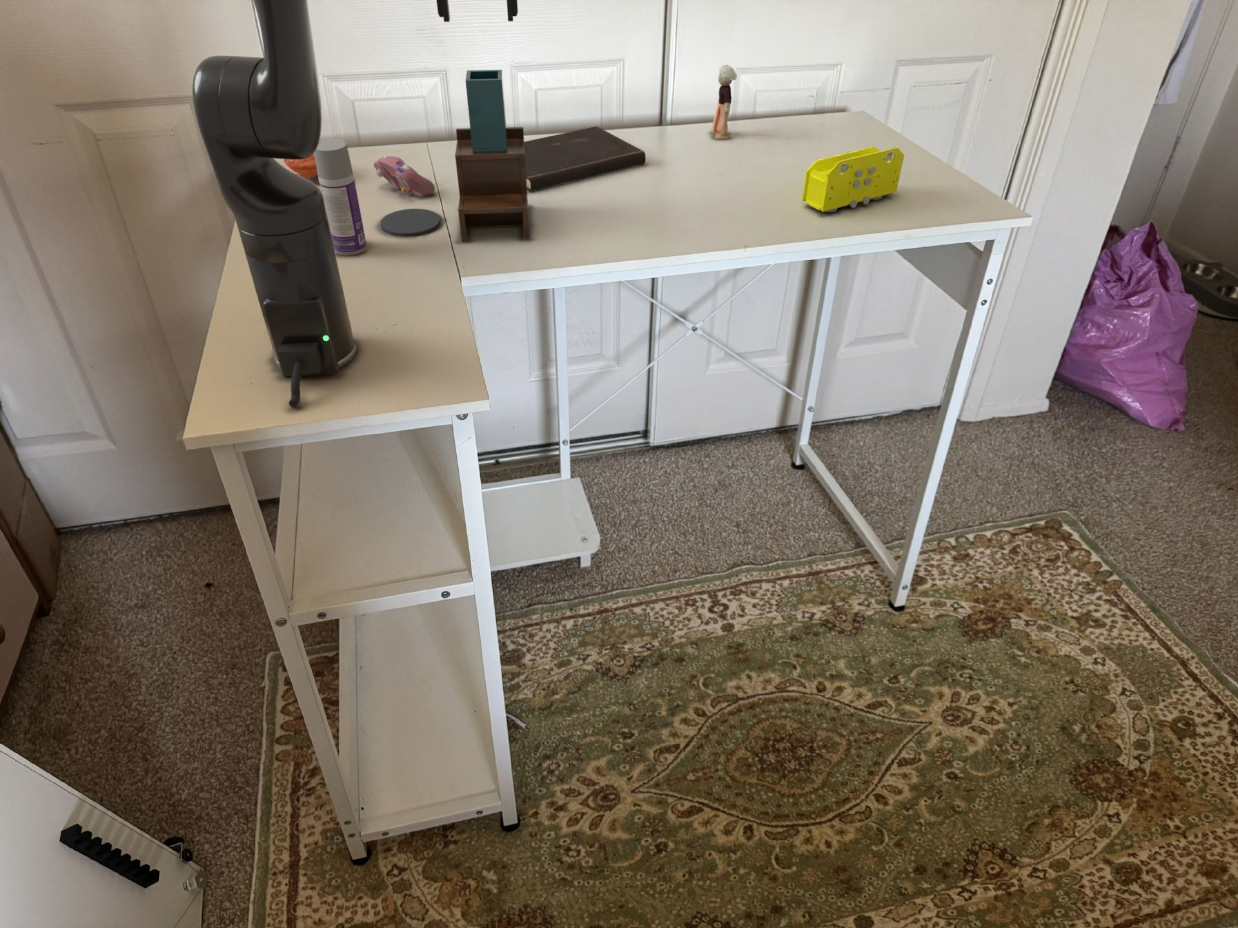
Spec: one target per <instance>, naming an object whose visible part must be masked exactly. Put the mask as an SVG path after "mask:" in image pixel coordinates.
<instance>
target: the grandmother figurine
mask: <svg viewBox="0 0 1238 928" xmlns="http://www.w3.org/2000/svg"><path fill="white" fill-rule="evenodd" d="M718 74H719V75H718V77H717V80H718V83H719V85H720V86H719V89H718V101H717V106H716V110H715V113H714V118H713V121H712V124H711V125H712V126H711V131H710V132H711V134H713V135H714V139H716V140H728V139H730V135H729V134H728V131H729V127H728V118H729V115H730V111H731V103H732V87H731V84H732V82H733V81H736V79H738V78H737V75H738V74H737V73H736V71H735V69H734V68H733V67H732V66H731V65H729V64H722V65H720V67H719V70H718Z"/></svg>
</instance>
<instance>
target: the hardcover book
mask: <svg viewBox="0 0 1238 928" xmlns="http://www.w3.org/2000/svg"><path fill="white" fill-rule="evenodd" d="M524 147H525V163H526V180H527V192H534V191H538V190H543V189H546V188H551V187H555V186H559V185H563V184H567V183H571V182H575V181H580V180H583V179H588V178H592V177H595V176H601V175H604V174H608V173H612V172H615V171H621V170H625V169H629V168H633V167H637V166H641V165H644V164H645V163H646V160H647V158H646V157H647V156H646V152H645V151H644V150H643V149H641V148H639V147H638V146H635V145H633V144H631V143H629V142H627V141H625V140H624V139H622V138H620V137H618V136H616V135H615V134H612V133H610V132H608V131H607V130H605V129H602V128H601V127H599V126H597V125H596V126H591V127H587V128H586V127H585V128H582V129H578V130H573V131H569V132H563V133H558V134H554V135H553V134H552V135H548V136H544V137H540V138H535V139H530V140H526V141H525V140H524Z"/></svg>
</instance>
